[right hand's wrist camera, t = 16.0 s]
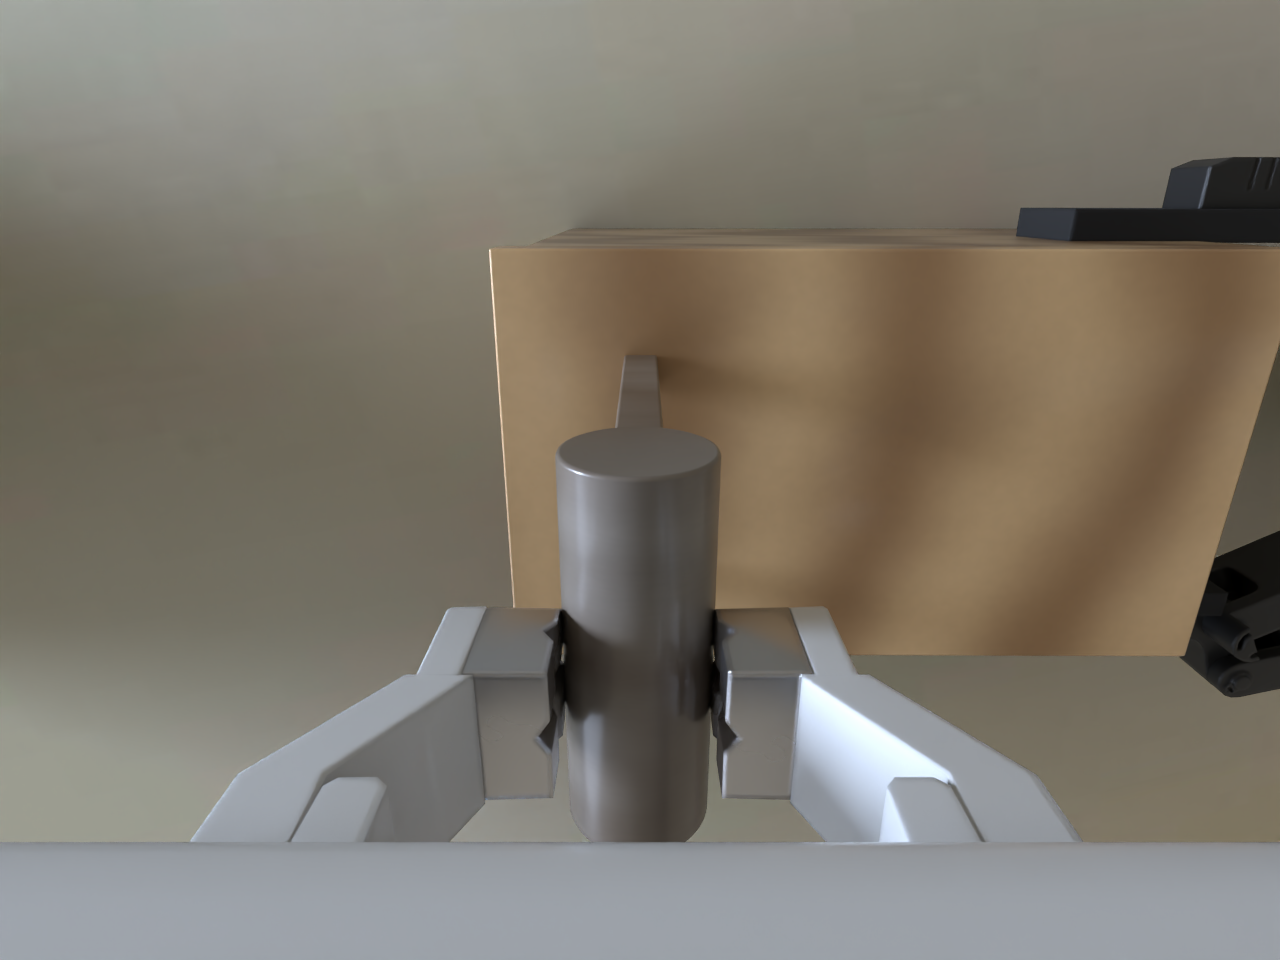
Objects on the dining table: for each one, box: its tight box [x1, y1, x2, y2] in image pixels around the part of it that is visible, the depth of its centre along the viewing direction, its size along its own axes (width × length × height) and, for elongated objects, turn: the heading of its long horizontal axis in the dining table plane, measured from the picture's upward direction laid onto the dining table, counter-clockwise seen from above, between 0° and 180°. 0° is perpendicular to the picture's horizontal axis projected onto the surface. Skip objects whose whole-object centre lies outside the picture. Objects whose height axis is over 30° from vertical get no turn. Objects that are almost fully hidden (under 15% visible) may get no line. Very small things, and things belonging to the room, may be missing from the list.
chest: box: [528, 229, 1269, 247], centre depth 22 cm, size 16×10×11 cm, turn 90°
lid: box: [489, 246, 1280, 842], centre depth 13 cm, size 16×10×9 cm, turn 90°
